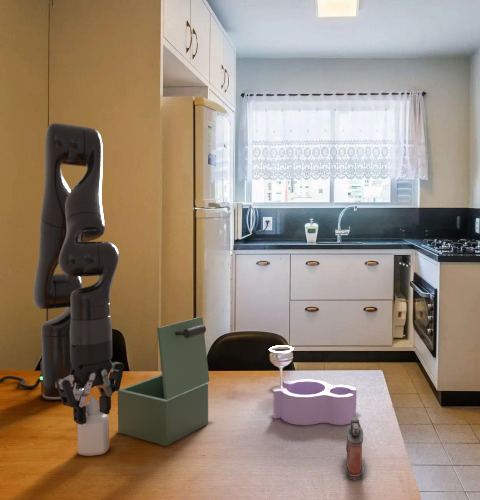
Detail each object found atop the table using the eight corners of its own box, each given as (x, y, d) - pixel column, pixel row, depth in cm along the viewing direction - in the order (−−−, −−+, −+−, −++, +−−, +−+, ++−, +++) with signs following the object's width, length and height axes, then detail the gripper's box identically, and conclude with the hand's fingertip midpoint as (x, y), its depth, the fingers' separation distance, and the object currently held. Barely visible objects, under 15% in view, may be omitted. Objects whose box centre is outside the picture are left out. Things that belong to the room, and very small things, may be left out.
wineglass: (266, 387, 143) (267, 346, 142) (289, 384, 146) (290, 344, 145) (271, 395, 137) (271, 353, 136) (295, 392, 139) (295, 351, 138)
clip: (359, 409, 128) (359, 383, 128) (348, 429, 116) (349, 401, 116) (286, 402, 132) (286, 377, 131) (268, 421, 119) (269, 394, 119)
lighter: (345, 458, 102) (346, 412, 102) (361, 458, 103) (362, 412, 102) (346, 479, 94) (347, 429, 94) (363, 479, 95) (364, 429, 94)
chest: (118, 432, 112) (117, 390, 111) (162, 412, 124) (162, 373, 123) (166, 446, 106) (166, 401, 105) (208, 423, 118) (208, 383, 117)
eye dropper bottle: (93, 459, 100) (91, 402, 99) (74, 453, 102) (73, 397, 101) (112, 450, 104) (111, 395, 103) (93, 444, 106) (92, 390, 105)
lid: (156, 327, 105) (174, 327, 103) (199, 316, 117) (216, 316, 115) (164, 399, 105) (182, 400, 103) (206, 381, 117) (224, 381, 115)
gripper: (109, 328, 109) (110, 403, 110) (44, 344, 96) (46, 428, 97) (133, 333, 106) (134, 409, 107) (69, 349, 93) (71, 436, 94)
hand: (92, 418), depth 102 cm, fingers open, 4 cm apart
